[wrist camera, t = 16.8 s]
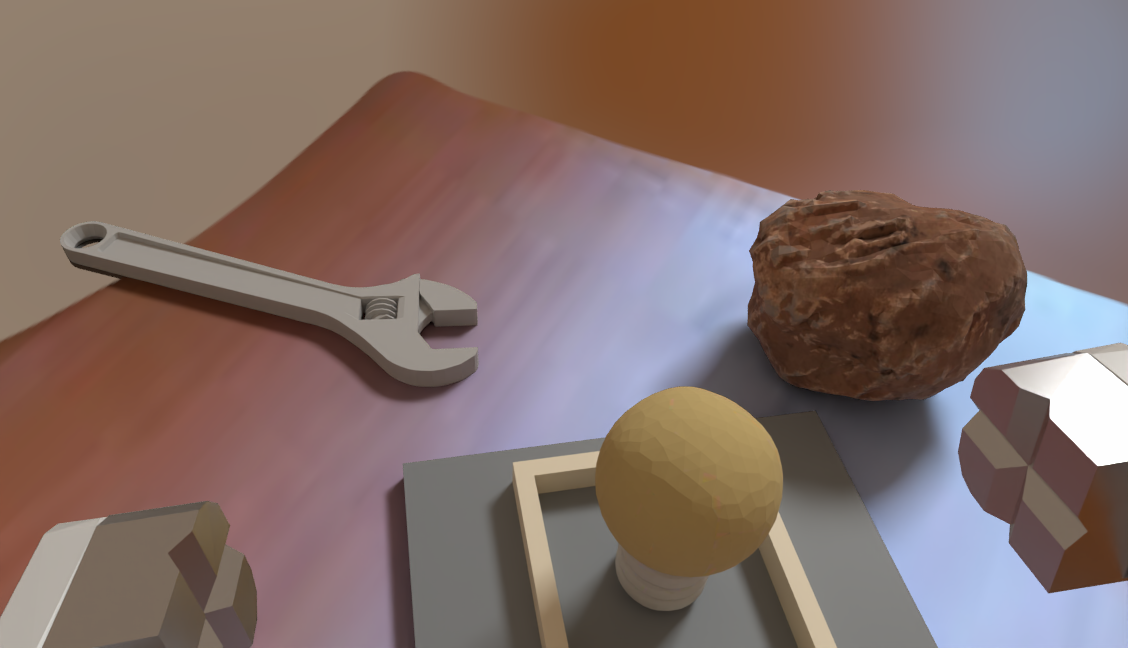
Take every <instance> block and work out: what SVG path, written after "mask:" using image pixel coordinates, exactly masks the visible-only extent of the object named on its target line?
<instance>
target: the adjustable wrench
mask: <svg viewBox="0 0 1128 648" xmlns="http://www.w3.org/2000/svg"><path fill="white" fill-rule="evenodd" d="M60 242H61V246H62V247H63V249H64V251H65V253H66V255H67V257H68V259H69V261H70V263H71V264H72V265H73V266H74V267H77V268H79V269H83V270H87V271H91V272H95V273H99V274H103V275H107V276H111V277H115V278H119V279H120V278H122V277H124V276H126V277H130V278H134V279H138V280H142V281H146V282H150V283H153V284H157V285H161V286H165V287H169V288H173V289H177V290H181V291H185V292H188V293H192V294H196V295H200V296H204V297H208V298H212V299H216V300H220V301H223V302H227V303H231V304H235V305H239V306H243V307H247V308H251V309H255V310H258V311H262V312H266V313H270V314H274V315H278V316H282V317H286V318H290V319H293V320H297V321H301V322H305V323H309V324H313V325H317V326H320V327H323V328H326V329H329V330H332V331H333V332H335V333H337V334H339V335H341V336H343V337H344V338H346V339H347V340H348V341H350V342H351V343H353V344H354V345H355V346H357V347H358V348H360V349H361V350H362V351H363V352H365V353H366V354H367V355H368V356H370V357H371V358H372V359H373V360H374V361H375V362H376V363H377V364H378V365H379V366H380V367H381V368H382V369H384V370H385V371H386V372H387V373H388V374H389V375H390V376H392V377H393V378H395V379H396V380H399V381H401V382H403V383H406V384H409V385H413V386H420V387H437V386H444V385H448V384H451V383H455V382H458V381H461V380H463V379H465V378H466V377H468V376H469V375H471V374H473V373H474V372H476V370H477V368H478V364H479V363H478V347H475V348H452V349H431V347H430V346H429V345H428V344H427V343H426V341H425V340H424V339H423V338H422V337H421V335H420V332H421V331H422V330H423V328H424V327H425V326H426V325H427V324H428V323H430V322H431V321H432V322H433V324H434V325H435V327H436V326H465V325H477V302H475V301H474V300H473V299H472V298H471V297H470V296H468V295H467V294H465V293H464V292H462V291H460V290H458V289H456V288H454V287H451V286H449V285H446V284H442V283H438V282H434V281H429V280H424V279H420V273H419V274H414V275H412V276H410V277H408V278H407V279H402V280H400V281H399V282H395V283H391V284H386V285H380V286H374V287H364V288H356V287H345V286H339V285H334V284H330V283H326V282H323V281H319V280H315V279H311V278H308V277H304V276H300V275H296V274H293V273H289V272H285V271H282V270H278V269H274V268H270V267H267V266H263V265H259V264H255V263H252V262H248V261H244V260H240V259H237V258H233V257H229V256H225V255H222V254H218V253H214V252H211V251H207V250H203V249H199V248H196V247H192V246H188V245H184V244H181V243H177V242H173V241H169V240H165V239H162V238H158V237H154V236H151V235H147V234H143V233H139V232H136V231H132V230H128V229H124V228H121V227H117V226H113V225H110V224H106V223H102V222H95V221H94V222H85V223H81V224H78V225H75V226H73V227H71V228H70V229H68V230H66V231H65V232H64V234H63V235H62V236H61V239H60ZM96 242H99V243H98V244H95V245H93V246H91V247H87V248H82V247H84V246H86V245H88V244H92V243H96ZM363 313H366V314H365V320H363Z"/></svg>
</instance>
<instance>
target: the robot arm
mask: <svg viewBox="0 0 1128 648" xmlns="http://www.w3.org/2000/svg"><path fill="white" fill-rule="evenodd" d="M970 398H971V399H972V401H973V402H974V403H975V405H976V406H977V408H978V409H979V410H980V411H979V412H978V413H977V414H976V415H975V416H974V417H973V418H972V419H971V420H970V421H969V422H968V423H967V424H966V425H965V426H964V427H963V428H962V433H961V438H960V444H959V449H958V454H959V460H960V465H961V471H962V476H963V478H964V480H965V482H966V484H967V486H968V488H969V491H970V493H971V494H972V495H973V497H974V498H975V499H976V501H977V502H978V503H979V505H980V506H981V508H982V509H983V510H984V511H985V512H987V513H989V514H991V515H993V516H995V517H997V518H999V519H1001V520H1003V521H1005V522H1007V523H1009V524H1010V532H1009V544H1010V545H1011V546H1012V548H1013V549H1014V550H1015V551H1016V553H1017V554H1018V555H1019V556H1020V558H1021V559H1022V560H1023V562H1024V563H1025V564H1026V565H1027V567H1028V568H1029V569H1030V570H1031V572H1032V573H1033V574H1034V576H1035V577H1036V578H1037V579H1038V581H1039V582H1040V583H1041V584H1042V586H1043V587H1044V588H1045V590H1046V591H1047V592H1048V593H1054V592H1060V591H1066V590H1072V589H1078V588H1085V587H1091V586H1097V585H1103V584H1109V583H1115V582H1122V581H1128V345H1126V344H1123V343H1117V344H1111V345H1106V346H1101V347H1095V348H1090V349H1084V350H1079V351H1075V352H1073V353H1065V354H1060V355H1054V356H1049V357H1043V358H1038V359H1032V360H1026V361H1021V362H1015V363H1010V364H1004V365H999V366H993V367H987V368H984V369H983V370H982V371H981V373H980V374H979V375H978V376H977V377H976V379H975V381H974V385H973V389H972V392H971V396H970ZM229 527H230V525H229V523H228V521H227V519H226V517H225V516H224V514H223V512H222V510H221V508H220V506H219V505H218V503H214V502H209V501H204V502H197V503H190V504H183V505H177V506H170V507H163V508H156V509H149V510H143V511H136V512H129V513H122V514H115V515H109V516H108V517H104V518H97V519H89V520H82V521H75V522H68V523H61V524H57V525H56V526H54V527H53V528H52V529H50V530H49V531H48V532H47V533H45V534H44V535H43V537H42V538H41V540H40V542H39V544H38V546H37V548H36V550H35V552H34V554H33V556H32V558H31V560H30V561H29V563H28V565H27V567H26V569H25V571H24V573H23V575H22V577H21V579H20V581H19V583H18V584H17V586H16V588H15V590H14V592H13V594H12V596H11V598H10V600H9V602H8V604H7V606H6V607H5V609H4V611H3V613H2V615H1V617H0V648H250V647H251V646H252V644H253V639H254V633H255V628H256V622H257V591H256V587H255V583H254V578H253V574H252V570H251V568H250V566H249V564H248V562H247V560H246V557H245V555H244V554H242V553H240V552H239V551H237V550H235V549H233V548H231V547H229V546H227V545H226V544H225V543H226V539H227V535H228V531H229Z"/></svg>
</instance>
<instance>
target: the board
mask: <svg viewBox="0 0 1128 648" xmlns="http://www.w3.org/2000/svg"><path fill="white" fill-rule="evenodd" d="M755 419H756V420H757V421H758V422H759V423H760V424H761V425H762V426H763V427H764V428H765V430H766V431H767V432H768V434H769V435H770V436H771V438H772V440H773V442H774V444H775V446H776V448H777V450H778V453H779V456H780V461H781V465H782V472H783V490H782V500H781V503H780V507H779V511H778V514H777V518H776V521H775V523H774V525H773V526H772V528H771V530H770V532H769V534H768V535H767V537H766V538H765V540H764V541H763V543H762V544H761V545H760V546H759V547H758V548H757V550H756V551H755V552H754V553H753V554H751V555H750V556H749V557H748V558H746V559H745V560H743V561H742V562H740V563H739V564H738V565H736V566H735V567H732V568H730V569H728V570H725V571H723V572H720V573H716V574H713V575H709V577H708V579H707V582H706V585H705V587H704V589H703V591H702V593H701V594H700V595H699V596H698V598H697V599H696V600H695V601H693V602H692V603H691V604H689V605H687V606H686V607H684V608H682V609H678V610H672V611H658V610H653V609H650V608H647V607H645V606H643V605H641V604H639V603H638V602H636V601H635V600H634V599H633V598H632V597H631V596H630V595H628V593H627V592H626V591H625V589H624V588H623V587H622V585H621V583H620V581H619V579H618V576H617V573H616V566H615V558H616V553H617V549H618V542H617V541H616V539H615V538H614V536H613V535H612V533H611V532H610V530H609V528H608V526H607V524H606V522H605V521H604V519H603V517H602V514H601V510H600V507H599V503H598V499H597V496H596V487H595V472H596V463H597V459H598V456H599V452H600V448H601V446H602V444H603V442H604V440H605V438H598V439H590V440H583V441H575V442H567V443H559V444H552V445H544V446H536V447H528V448H520V449H513V450H505V451H497V452H489V453H482V454H474V455H466V456H458V457H451V458H443V459H435V460H427V461H420V462H412V463H404V464H403V475H404V489H405V504H406V518H407V533H408V547H409V562H410V576H411V591H412V605H413V620H414V634H415V648H938V647H937V645H936V643H935V641H934V639H933V637H932V635H931V633H930V631H929V629H928V627H927V625H926V624H925V622H924V620H923V618H922V616H921V614H920V612H919V610H918V608H917V606H916V604H915V602H914V600H913V598H912V596H911V594H910V593H909V591H908V589H907V587H906V585H905V583H904V581H903V579H902V577H901V575H900V573H899V571H898V569H897V567H896V565H895V563H894V562H893V560H892V558H891V556H890V554H889V552H888V550H887V548H886V546H885V544H884V542H883V540H882V538H881V536H880V534H879V533H878V531H877V529H876V527H875V525H874V523H873V521H872V519H871V517H870V515H869V513H868V511H867V509H866V507H865V505H864V503H863V502H862V500H861V498H860V496H859V494H858V492H857V490H856V488H855V486H854V484H853V482H852V480H851V478H850V476H849V474H848V472H847V471H846V469H845V467H844V465H843V463H842V461H841V459H840V457H839V455H838V453H837V451H836V449H835V447H834V445H833V443H832V442H831V440H830V438H829V436H828V434H827V432H826V430H825V428H824V426H823V424H822V422H821V420H820V418H819V416H818V414H817V412H816V411H808V412H800V413H792V414H785V415H777V416H769V417H761V418H755Z"/></svg>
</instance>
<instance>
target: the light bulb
mask: <svg viewBox="0 0 1128 648" xmlns="http://www.w3.org/2000/svg"><path fill="white" fill-rule="evenodd" d="M595 487H596V496H597V499H598V503H599V507H600V510H601V514H602V517H603V519H604V521H605V522H606V524H607V526H608V528H609V530H610V532H611V533H612V535H613V536H614V538H615V539H616V541H617V542H618V549H617V553H616V558H615V566H616V573H617V576H618V579H619V581H620V583H621V585H622V587H623V588H624V589H625V591H626V592H627V593H628V595H630V596H631V597H632V598H633V599H634V600H635V601H636V602H638V603H639V604H641V605H643V606H645V607H647V608H650V609H653V610H658V611H672V610H678V609H682V608H684V607H686V606H687V605H689V604H691V603H692V602H693V601H695V600H696V599H697V598H698V596H699V595H700V594H701V593H702V591H703V589H704V587H705V585H706V582H707V579H708V577H709V575H713V574H716V573H720V572H723V571H725V570H728V569H730V568H732V567H735V566H736V565H738V564H739V563H740V562H742V561H743V560H745V559H746V558H748V557H749V556H750V555H751V554H753V553H754V552H755V551H756V550H757V548H758V547H759V546H760V545H761V544H762V543H763V541H764V540H765V538H766V537H767V535H768V534H769V532H770V530H771V528H772V526H773V525H774V523H775V521H776V518H777V514H778V511H779V507H780V503H781V500H782V490H783V472H782V465H781V461H780V456H779V453H778V450H777V448H776V446H775V444H774V442H773V440H772V438H771V436H770V435H769V434H768V432H767V431H766V430H765V428H764V427H763V426H762V425H761V424H760V423H759V422H758V421H757V420H756V419H755V418H754V417H753V416H752V415H751V414H750V413H748V412H747V411H746V410H744V409H743V408H742V407H740V406H739V405H738V404H736V403H735V402H733V401H731V400H729V399H727V398H726V397H724V396H721V395H718V394H716V393H713V392H710V391H708V390H705V389H701V388H696V387H674V388H669V389H666V390H663V391H660V392H657V393H654V394H652V395H650V396H649V397H647V398H645V399H643V400H641V401H640V402H639V403H637V404H636V405H634V406H633V407H632V408H630V409H629V410H628V411H626V412H625V413H624V414H623V415H622V416H621V417H620V418H619V419H618V420H617V421H616V422H615V424H614V425H613V427H612V428H611V430H610V431H609V433H608V434H607V436H606V438H605V440H604V442H603V444H602V446H601V448H600V452H599V456H598V459H597V463H596V472H595Z"/></svg>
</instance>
